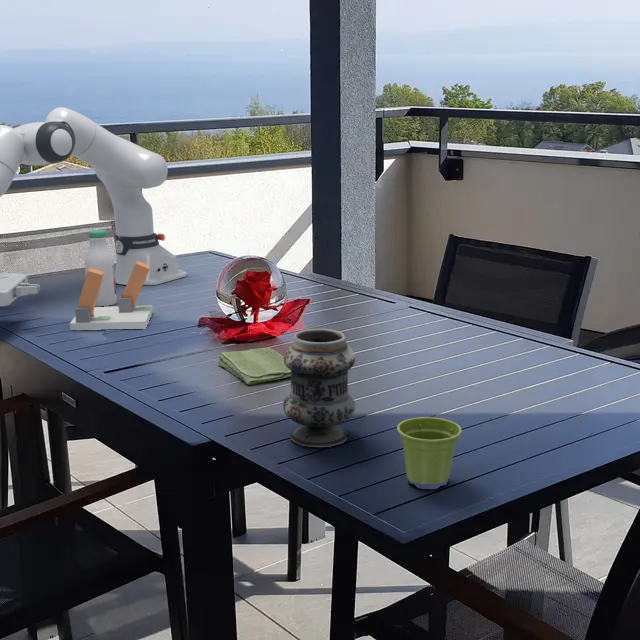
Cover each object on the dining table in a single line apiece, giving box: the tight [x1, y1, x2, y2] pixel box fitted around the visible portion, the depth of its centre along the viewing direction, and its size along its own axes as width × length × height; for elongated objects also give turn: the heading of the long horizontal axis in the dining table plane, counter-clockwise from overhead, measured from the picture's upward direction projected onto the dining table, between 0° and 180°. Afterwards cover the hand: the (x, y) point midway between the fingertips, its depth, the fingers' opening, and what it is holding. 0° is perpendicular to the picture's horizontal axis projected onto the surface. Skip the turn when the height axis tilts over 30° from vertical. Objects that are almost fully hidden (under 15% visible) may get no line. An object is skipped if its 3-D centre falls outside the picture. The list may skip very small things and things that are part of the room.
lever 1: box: [76, 268, 104, 317], centre depth 220 cm, size 4×4×12 cm
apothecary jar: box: [282, 328, 356, 446], centre depth 151 cm, size 12×12×18 cm
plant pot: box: [396, 416, 462, 484], centre depth 135 cm, size 9×9×9 cm
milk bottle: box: [84, 229, 118, 307], centre depth 243 cm, size 8×8×20 cm
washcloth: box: [217, 347, 291, 386], centre depth 188 cm, size 13×18×3 cm
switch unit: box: [69, 292, 154, 332], centre depth 226 cm, size 16×18×6 cm
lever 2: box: [121, 261, 151, 308], centre depth 230 cm, size 4×4×12 cm
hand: (38, 289), depth 219 cm, fingers closed
